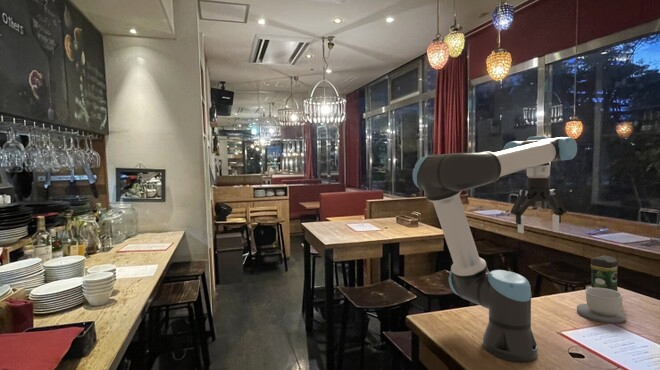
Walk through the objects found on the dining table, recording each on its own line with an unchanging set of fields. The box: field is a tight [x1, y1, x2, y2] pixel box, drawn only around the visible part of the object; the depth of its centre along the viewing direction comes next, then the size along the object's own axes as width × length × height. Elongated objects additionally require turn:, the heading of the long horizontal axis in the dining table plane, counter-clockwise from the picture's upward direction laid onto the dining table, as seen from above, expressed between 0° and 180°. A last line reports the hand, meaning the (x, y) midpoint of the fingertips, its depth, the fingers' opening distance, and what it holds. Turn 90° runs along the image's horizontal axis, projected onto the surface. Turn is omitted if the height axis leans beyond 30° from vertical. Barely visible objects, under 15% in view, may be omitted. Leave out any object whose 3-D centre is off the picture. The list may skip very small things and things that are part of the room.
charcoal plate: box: [576, 303, 627, 325], centre depth 129 cm, size 15×15×2 cm
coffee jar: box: [590, 255, 619, 292], centre depth 143 cm, size 10×8×19 cm
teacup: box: [584, 285, 624, 316], centre depth 129 cm, size 14×11×8 cm
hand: (538, 232), depth 131 cm, fingers open, 13 cm apart
